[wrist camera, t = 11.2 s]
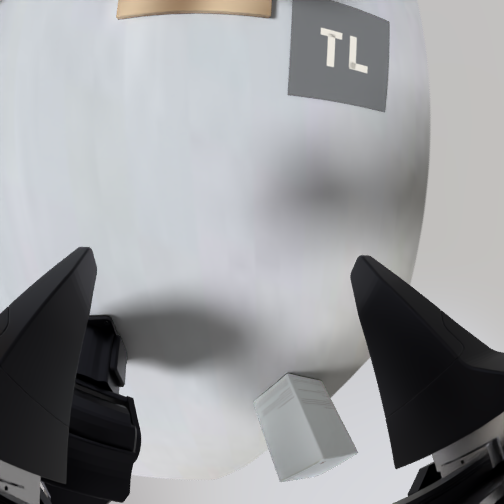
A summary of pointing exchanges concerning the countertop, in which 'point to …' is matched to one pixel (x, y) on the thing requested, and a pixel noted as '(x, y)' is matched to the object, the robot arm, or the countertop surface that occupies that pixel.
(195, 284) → the countertop surface
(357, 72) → the gray mat
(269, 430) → the supplement box
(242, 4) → the coaster
